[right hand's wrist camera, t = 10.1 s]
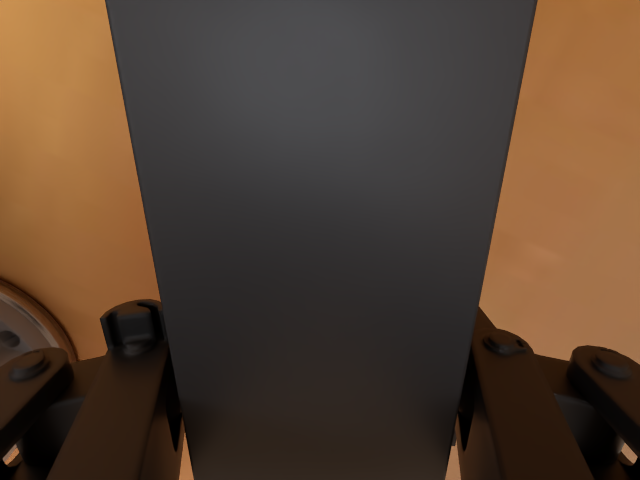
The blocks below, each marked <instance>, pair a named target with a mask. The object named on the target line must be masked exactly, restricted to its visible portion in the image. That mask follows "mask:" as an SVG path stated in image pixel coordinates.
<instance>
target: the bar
mask: <svg viewBox="0 0 640 480" xmlns="http://www.w3.org/2000/svg"><path fill="white" fill-rule="evenodd" d="M105 3H106V8H107V13H108V19H109V24H110V29H111V35H112V40H113V46H114V51H115V56H116V62H117V67H118V73H119V78H120V83H121V89H122V94H123V100H124V105H125V110H126V116H127V121H128V127H129V132H130V137H131V143H132V148H133V154H134V159H135V164H136V170H137V175H138V180H139V186H140V191H141V197H142V202H143V207H144V213H145V218H146V224H147V229H148V234H149V240H150V245H151V251H152V256H153V261H154V267H155V272H156V278H157V283H158V288H159V294H160V299H161V304H162V310H163V315H164V321H165V326H166V331H167V337H168V342H169V348H170V353H171V358H172V364H173V369H174V375H175V380H176V385H177V391H178V396H179V402H180V407H181V412H182V418H183V423H184V428H185V434H186V439H187V445H188V450H189V455H190V461H191V466H192V472H193V477H194V480H445V477H446V471H447V466H448V461H449V456H450V451H451V446H452V440H453V435H454V430H455V425H456V420H457V415H458V409H459V404H460V399H461V394H462V389H463V383H464V378H465V373H466V368H467V363H468V358H469V352H470V347H471V342H472V337H473V332H474V326H475V321H476V316H477V311H478V306H479V301H480V295H481V290H482V285H483V280H484V275H485V270H486V264H487V259H488V254H489V249H490V244H491V238H492V233H493V228H494V223H495V218H496V213H497V207H498V202H499V197H500V192H501V187H502V181H503V176H504V171H505V166H506V161H507V156H508V150H509V145H510V140H511V135H512V130H513V125H514V119H515V114H516V109H517V104H518V99H519V93H520V88H521V83H522V78H523V73H524V68H525V62H526V57H527V52H528V47H529V42H530V36H531V31H532V26H533V21H534V16H535V11H536V5H537V0H105Z"/></svg>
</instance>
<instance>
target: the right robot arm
mask: <svg viewBox="0 0 640 480" xmlns="http://www.w3.org/2000/svg"><path fill="white" fill-rule="evenodd" d="M100 322H101V325H102V329H103V333H104V336H105V340H106V344H107V348H108V351H107V353H106V355H105V356H101V357H97V358H92V359H87V360H82V361H76V357H75V354H74V351H73V348H72V346H71V344H70V342H69V340H68V338H67V336H66V335H65V333H64V332H63V330H62V328H61V327H60V326H59V325H58V323H57V322H56V321H55V320H54V318H53V317H52V316H51V315H50V314H49V313H48V312H47V311H46V310H45V309H44V308H43V307H42V306H40V305H39V304H38V303H37V302H36V301H34V300H33V299H32V298H31V297H29V296H28V295H26V294H25V293H23V292H22V291H20V290H19V289H17V288H15V287H14V286H12V285H10V284H8V283H6V282H4V281H2V280H0V480H179V474H180V466H181V457H182V449H183V440H184V432H185V428H184V423H183V418H182V412H181V407H180V402H179V396H178V391H177V385H176V380H175V375H174V369H173V364H172V358H171V353H170V348H169V342H168V337H167V331H166V326H165V321H164V315H163V310H162V304H161V302H159V301H156V300H151V299H142V300H135V301H130V302H126V303H123V304H121V305H118V306H115V307H114V308H112V309H110V310H109V311H107V312H106V313H105V314H104V315H103V316H102V317H101V318H100ZM456 440H457V448H458V456H459V465H460V473H461V480H640V365H639V364H638V363H636V362H635V361H633V360H632V359H630V358H629V357H626V356H624V355H622V354H620V353H618V352H617V351H614V350H611V349H607V348H604V347H597V346H589V345H587V346H579V347H577V348H576V349H574V350H573V352H572V355H571V358H570V361H565V360H560V359H556V358H551V357H546V356H541V355H537V354H534V352H533V350H532V348H531V347H530V346H529V345H528V343H527V342H526V341H524V340H523V339H522V338H520V337H519V336H517V335H515V334H513V333H510V332H508V331H505V330H501V329H497V328H496V327H495V326H494V325H493V323H492V322H491V321H490V320H489V318H488V317H487V316H486V315H485V313H484V312H483V311H482V310H481V308H480V307H478V311H477V316H476V321H475V326H474V332H473V337H472V342H471V347H470V352H469V358H468V363H467V368H466V373H465V378H464V383H463V389H462V394H461V399H460V404H459V409H458V415H457V420H456V425H455V430H454V435H453V440H452V446H455V443H456ZM624 443H626V444H627V445H628V446H629V447H630V449H631V450H632V451H633V452H634V453H635V454H636V455H637V456H638V458H637V460H636V462H635V463H634V464H633V463H632V462H631V461H630V460H628V459H627V458H626V456H625V455H624V454H623V453H622V452H621V450H622V447H623V445H624ZM16 448H18V450H19V454H18V455H17V456H16V457H15V458H14V459H13V460H12V461H11V462H10V463H9V464H8V465H6V464H5V463H4V461H6V460H7V459H8V458H9V457H10V455H11V454H12V453H13V451H14V450H15V449H16Z"/></svg>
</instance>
